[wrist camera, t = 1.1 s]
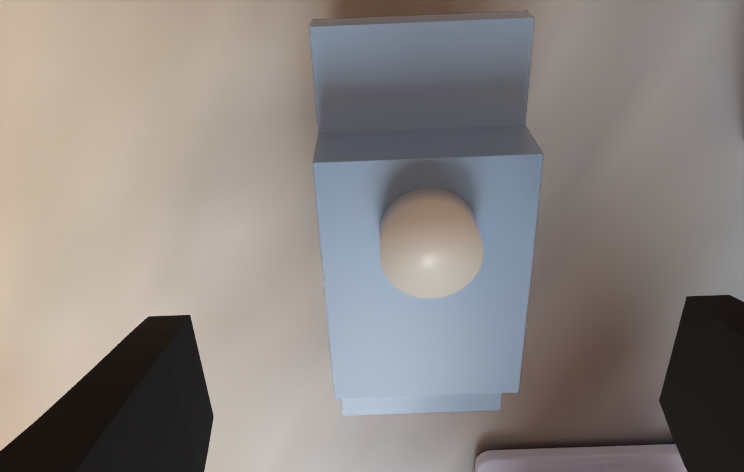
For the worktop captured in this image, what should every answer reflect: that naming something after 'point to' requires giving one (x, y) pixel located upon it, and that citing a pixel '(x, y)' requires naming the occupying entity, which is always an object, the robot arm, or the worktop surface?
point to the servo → (425, 207)
